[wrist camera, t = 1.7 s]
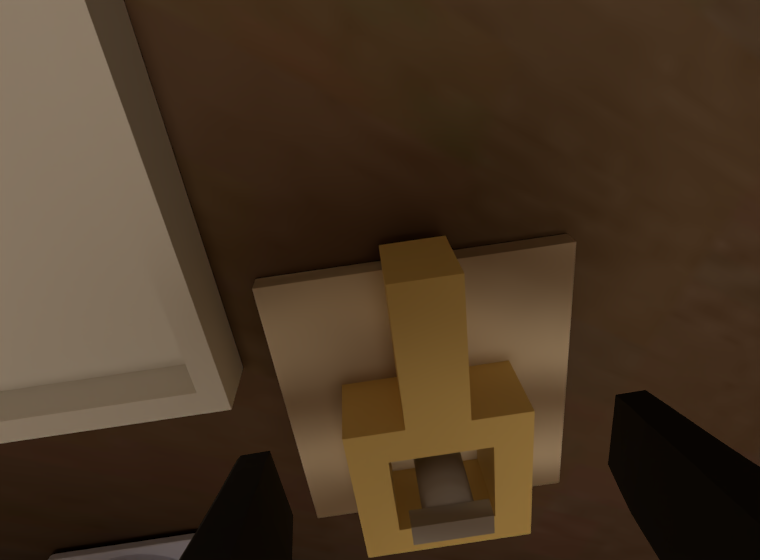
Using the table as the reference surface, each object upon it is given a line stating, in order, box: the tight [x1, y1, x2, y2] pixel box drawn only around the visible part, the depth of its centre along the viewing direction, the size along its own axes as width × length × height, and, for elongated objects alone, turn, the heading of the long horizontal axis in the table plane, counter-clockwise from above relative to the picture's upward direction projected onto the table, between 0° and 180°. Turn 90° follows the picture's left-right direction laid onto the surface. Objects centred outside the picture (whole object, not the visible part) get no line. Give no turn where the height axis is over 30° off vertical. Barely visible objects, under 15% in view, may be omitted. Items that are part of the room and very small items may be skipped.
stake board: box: [252, 234, 576, 545], centre depth 19 cm, size 13×12×6 cm
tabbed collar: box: [342, 236, 535, 558], centre depth 19 cm, size 13×7×3 cm, turn 7°
